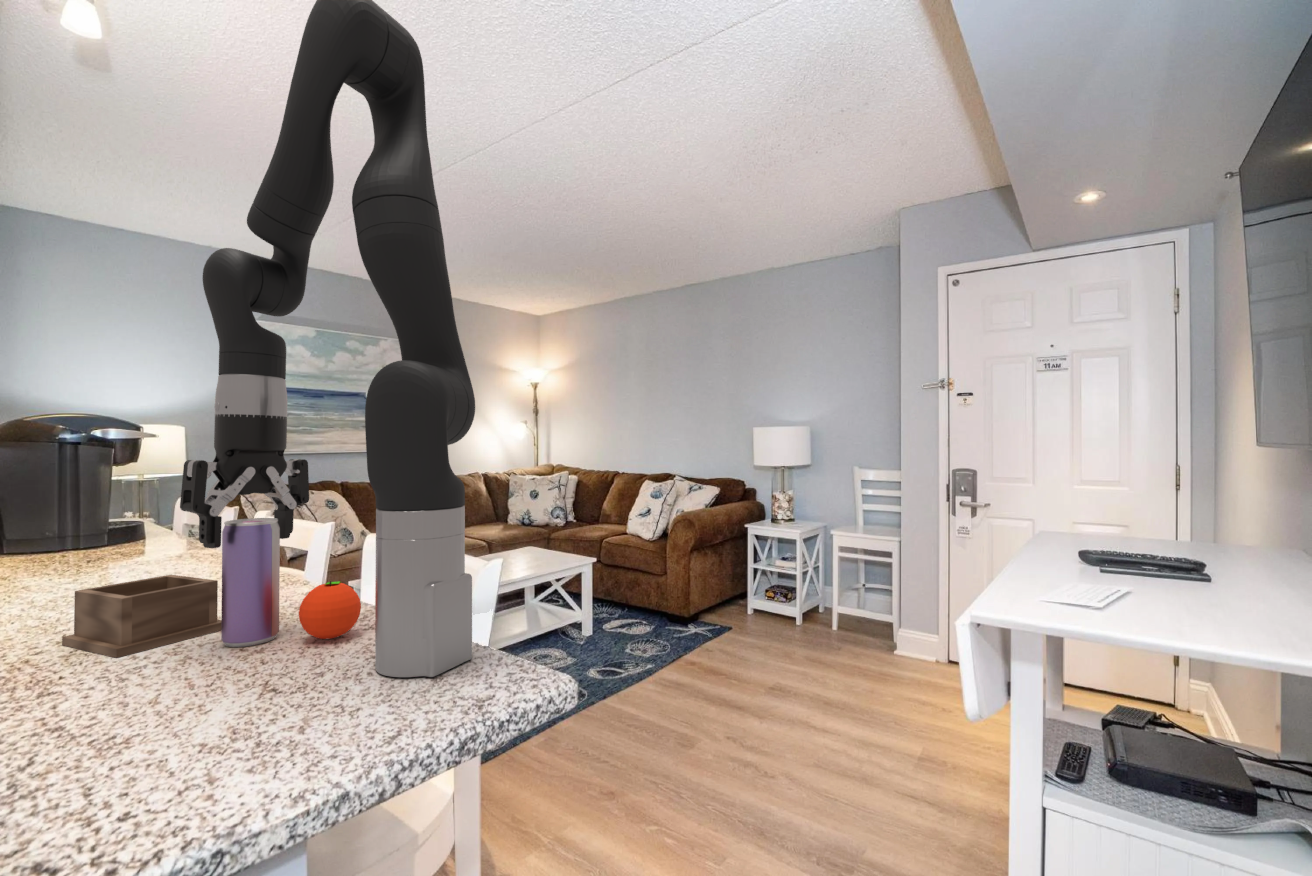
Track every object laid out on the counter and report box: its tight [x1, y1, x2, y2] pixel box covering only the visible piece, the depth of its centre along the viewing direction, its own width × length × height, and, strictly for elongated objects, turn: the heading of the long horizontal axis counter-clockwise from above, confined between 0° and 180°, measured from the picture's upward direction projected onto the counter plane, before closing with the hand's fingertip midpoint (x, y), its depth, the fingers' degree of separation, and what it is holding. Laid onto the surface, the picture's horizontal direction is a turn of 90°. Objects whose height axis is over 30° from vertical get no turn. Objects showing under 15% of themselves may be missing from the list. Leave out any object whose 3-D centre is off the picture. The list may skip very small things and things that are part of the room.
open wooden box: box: [61, 574, 222, 659], centre depth 76 cm, size 12×12×6 cm
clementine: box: [298, 580, 362, 640], centre depth 75 cm, size 8×7×7 cm
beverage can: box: [220, 517, 281, 648], centre depth 74 cm, size 6×6×15 cm
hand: (248, 542), depth 74 cm, fingers open, 8 cm apart
